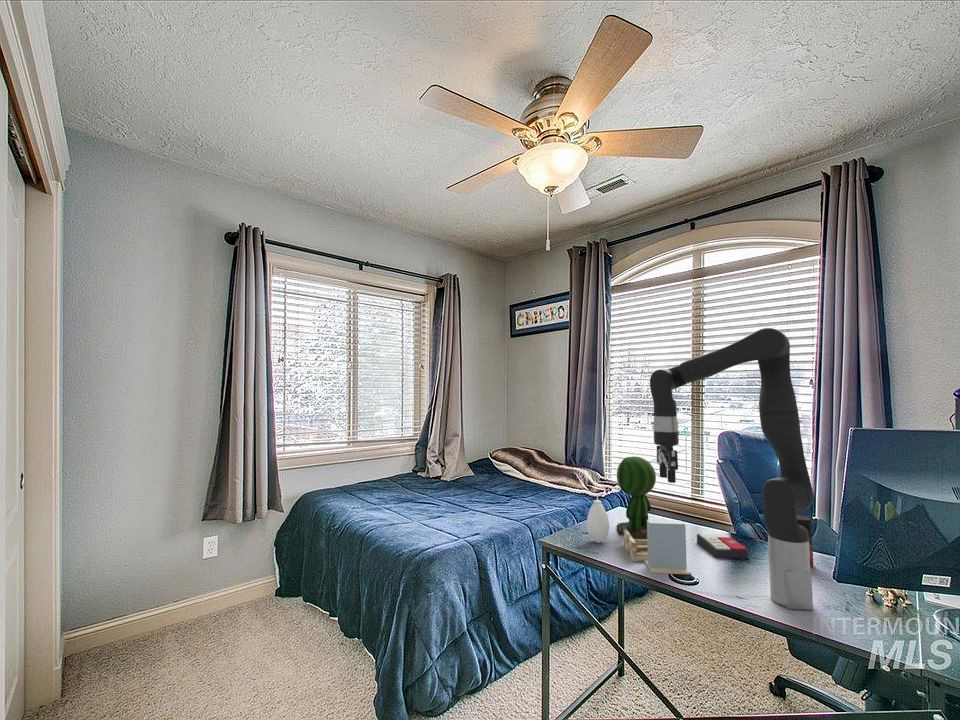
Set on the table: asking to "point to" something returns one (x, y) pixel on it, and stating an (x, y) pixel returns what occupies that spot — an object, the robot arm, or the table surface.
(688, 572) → the cork mat
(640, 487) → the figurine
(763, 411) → the robot arm
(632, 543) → the rack
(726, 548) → the dark flat box
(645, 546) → the offcut slab upper
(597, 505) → the white rounded upright piece
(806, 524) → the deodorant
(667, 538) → the grey rectangular block
